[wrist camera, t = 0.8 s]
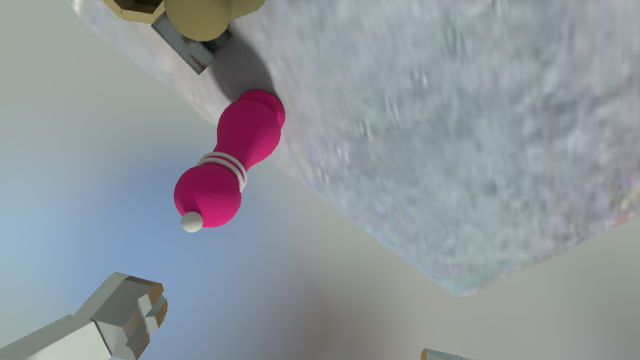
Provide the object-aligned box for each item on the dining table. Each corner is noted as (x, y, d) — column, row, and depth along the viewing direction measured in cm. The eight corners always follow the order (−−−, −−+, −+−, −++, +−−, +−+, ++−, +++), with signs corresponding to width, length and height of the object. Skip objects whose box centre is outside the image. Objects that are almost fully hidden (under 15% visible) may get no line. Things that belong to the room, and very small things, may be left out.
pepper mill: (231, 125, 47) (147, 240, 32) (237, 76, 42) (143, 185, 27) (282, 143, 48) (224, 266, 33) (295, 97, 43) (233, 216, 28)
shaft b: (236, 39, 39) (214, 60, 35) (214, 60, 42) (191, 82, 37) (194, -8, 37) (164, 7, 33) (173, 16, 39) (143, 34, 35)
